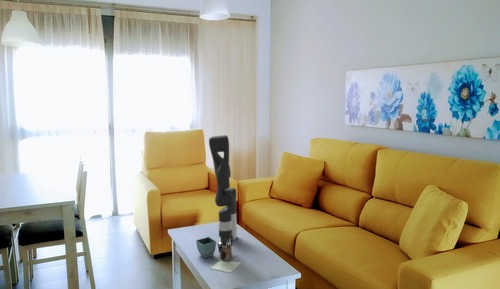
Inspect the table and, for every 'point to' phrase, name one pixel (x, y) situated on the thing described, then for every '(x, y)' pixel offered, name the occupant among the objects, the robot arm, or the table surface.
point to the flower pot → (206, 246)
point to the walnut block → (227, 252)
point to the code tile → (225, 259)
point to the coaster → (225, 266)
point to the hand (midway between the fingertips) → (225, 256)
